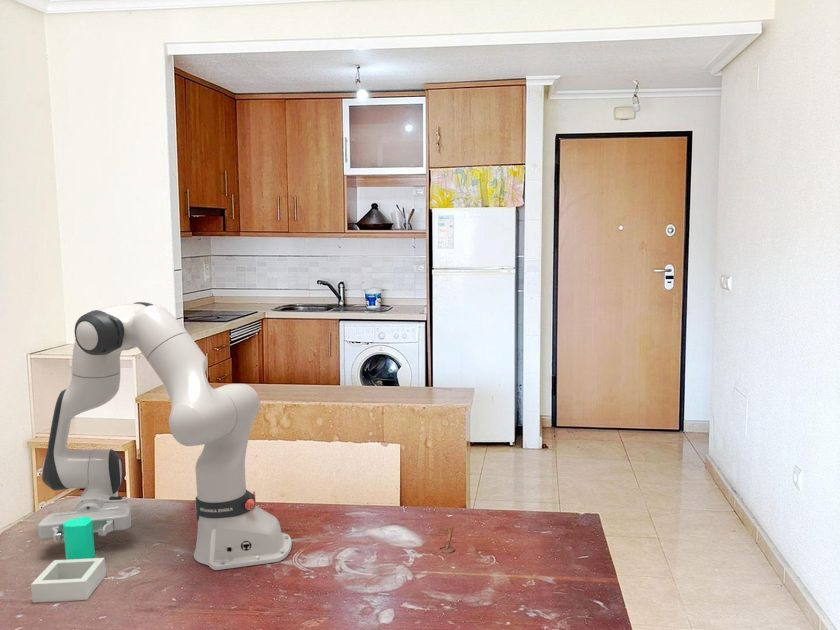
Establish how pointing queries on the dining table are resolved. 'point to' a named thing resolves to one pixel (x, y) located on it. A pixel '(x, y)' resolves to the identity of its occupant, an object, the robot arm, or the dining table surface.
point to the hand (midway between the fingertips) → (79, 535)
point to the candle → (79, 538)
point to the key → (447, 538)
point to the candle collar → (68, 580)
